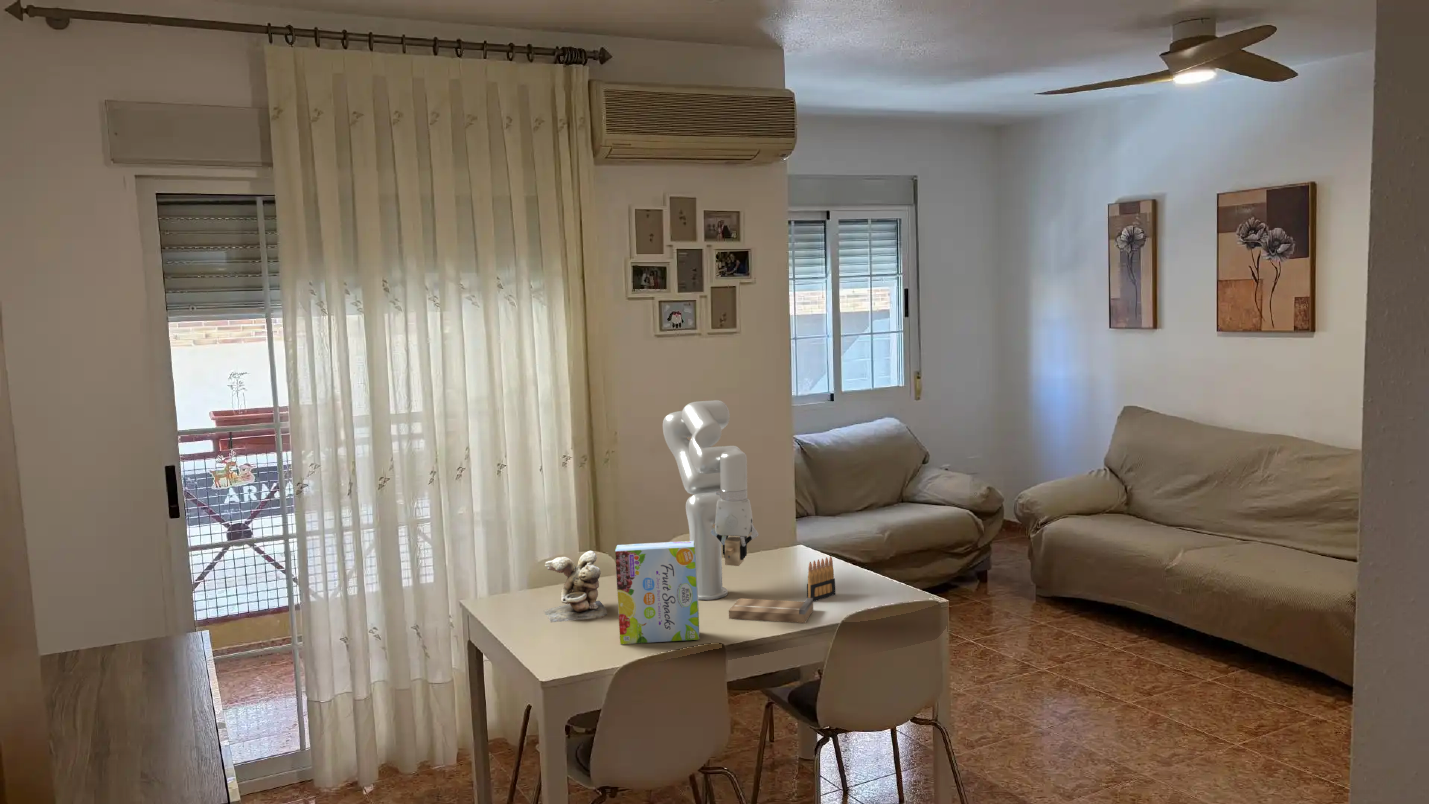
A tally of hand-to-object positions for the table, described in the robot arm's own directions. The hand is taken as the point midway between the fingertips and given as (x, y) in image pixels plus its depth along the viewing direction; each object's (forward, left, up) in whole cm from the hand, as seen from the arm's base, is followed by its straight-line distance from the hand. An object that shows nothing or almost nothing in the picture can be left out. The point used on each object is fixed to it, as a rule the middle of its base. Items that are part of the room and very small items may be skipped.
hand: (734, 557), depth 303 cm
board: (+9, +4, -17) cm, 20 cm away
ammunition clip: (+20, +23, -18) cm, 36 cm away
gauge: (0, 0, -2) cm, 2 cm away
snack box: (-16, -22, -18) cm, 32 cm away
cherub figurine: (-49, -3, -18) cm, 52 cm away
